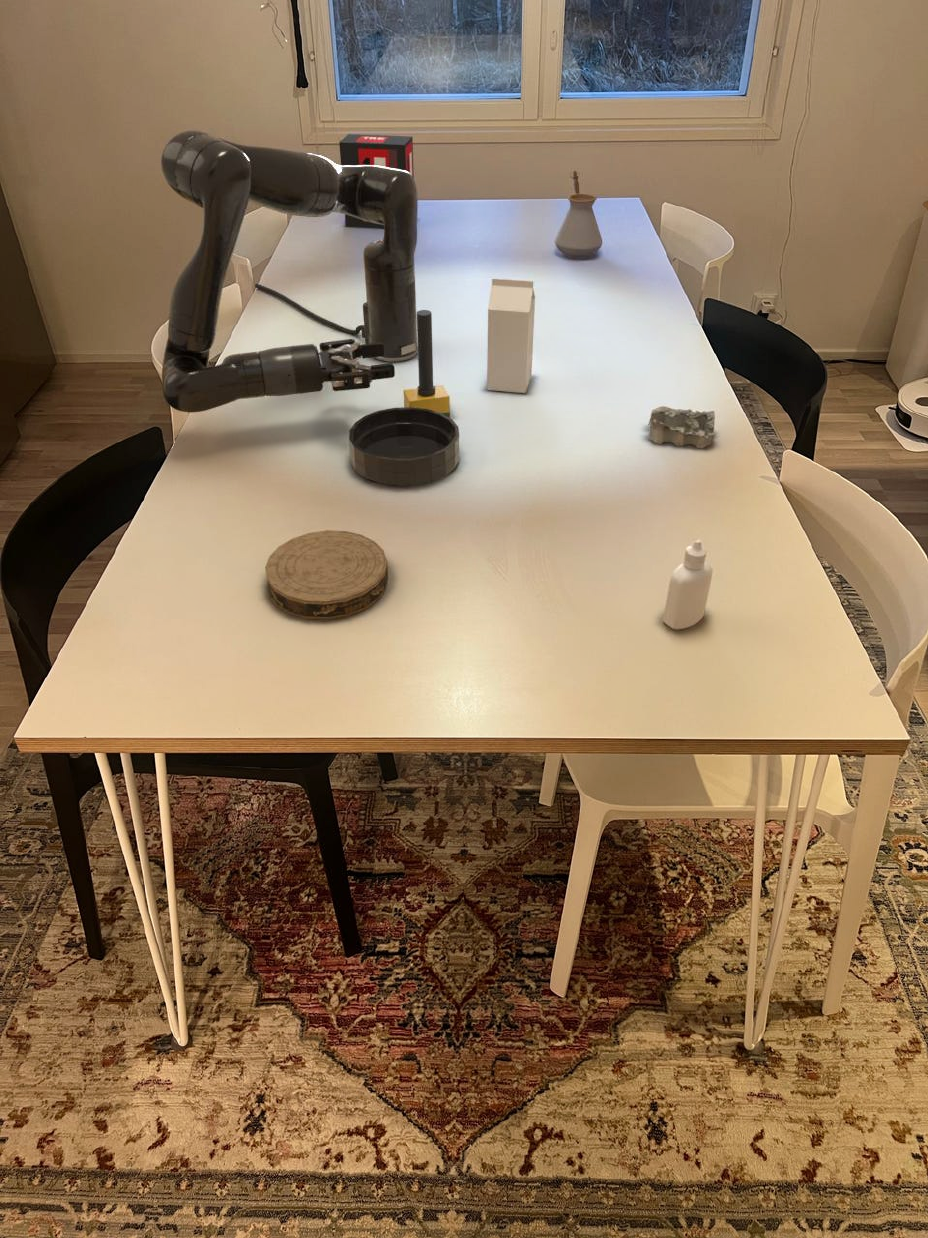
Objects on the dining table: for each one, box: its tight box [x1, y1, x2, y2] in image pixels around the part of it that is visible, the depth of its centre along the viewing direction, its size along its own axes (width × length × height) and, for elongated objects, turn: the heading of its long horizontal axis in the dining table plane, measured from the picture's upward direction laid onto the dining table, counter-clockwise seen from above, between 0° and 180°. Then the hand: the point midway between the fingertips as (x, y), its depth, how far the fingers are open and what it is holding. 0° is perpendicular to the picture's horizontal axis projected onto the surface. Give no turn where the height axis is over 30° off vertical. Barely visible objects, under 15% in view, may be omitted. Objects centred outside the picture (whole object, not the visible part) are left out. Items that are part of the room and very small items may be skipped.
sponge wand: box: [403, 309, 451, 418], centre depth 157 cm, size 7×4×18 cm, turn 106°
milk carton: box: [486, 277, 536, 394], centre depth 166 cm, size 7×7×19 cm
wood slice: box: [264, 530, 389, 621], centre depth 125 cm, size 16×16×3 cm
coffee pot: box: [554, 170, 603, 260], centre depth 227 cm, size 21×12×15 cm, turn 1°
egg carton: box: [647, 406, 716, 449], centre depth 155 cm, size 11×8×4 cm
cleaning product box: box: [338, 133, 415, 230], centre depth 240 cm, size 16×9×20 cm, turn 80°
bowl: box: [348, 407, 460, 487], centre depth 149 cm, size 17×17×5 cm
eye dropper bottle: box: [662, 538, 713, 631], centre depth 116 cm, size 4×6×12 cm
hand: (388, 359), depth 155 cm, fingers open, 8 cm apart
